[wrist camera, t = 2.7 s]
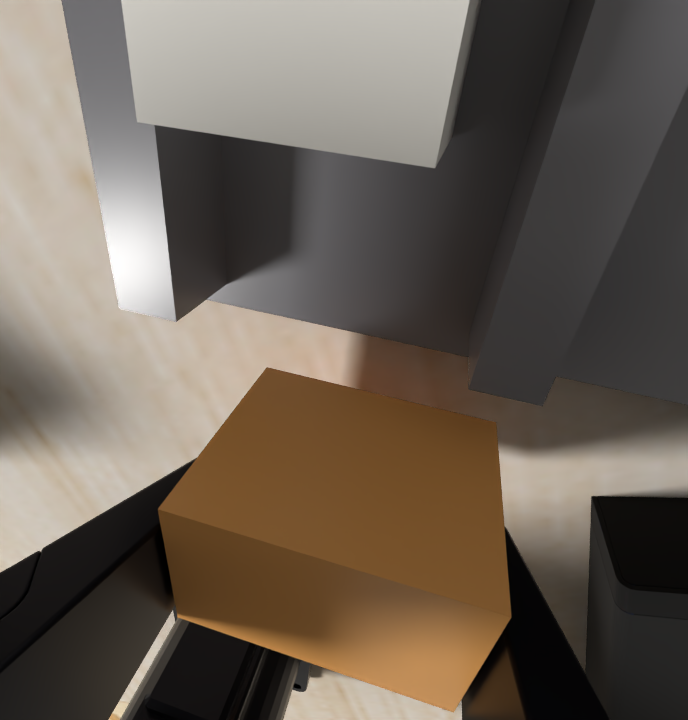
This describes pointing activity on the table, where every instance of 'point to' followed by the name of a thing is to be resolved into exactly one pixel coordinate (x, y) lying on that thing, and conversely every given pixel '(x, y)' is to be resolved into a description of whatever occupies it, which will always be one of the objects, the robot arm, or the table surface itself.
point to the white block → (305, 71)
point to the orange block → (346, 535)
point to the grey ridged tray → (436, 205)
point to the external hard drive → (639, 607)
